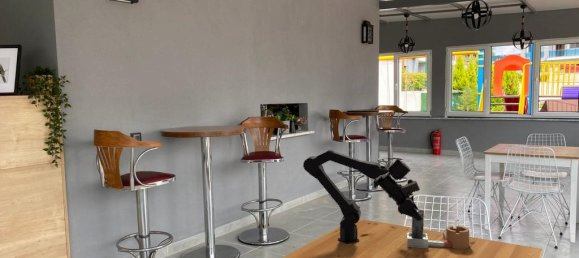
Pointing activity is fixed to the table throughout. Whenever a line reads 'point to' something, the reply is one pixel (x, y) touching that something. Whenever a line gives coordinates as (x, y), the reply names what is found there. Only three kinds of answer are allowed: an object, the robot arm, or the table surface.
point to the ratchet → (426, 242)
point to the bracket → (457, 236)
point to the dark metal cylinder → (418, 226)
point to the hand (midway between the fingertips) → (421, 217)
